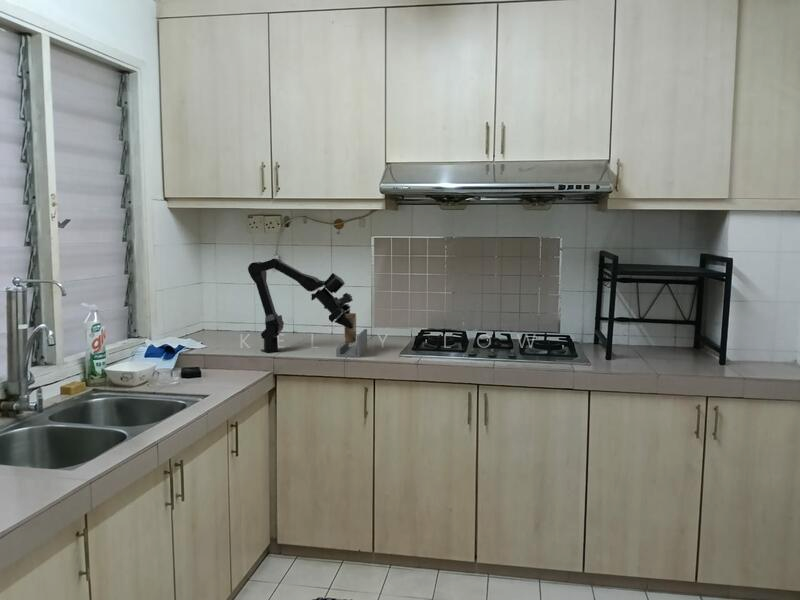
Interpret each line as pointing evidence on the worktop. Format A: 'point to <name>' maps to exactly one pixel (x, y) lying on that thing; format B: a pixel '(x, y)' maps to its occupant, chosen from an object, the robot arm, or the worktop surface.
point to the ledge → (353, 351)
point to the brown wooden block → (350, 333)
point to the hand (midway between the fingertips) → (353, 326)
